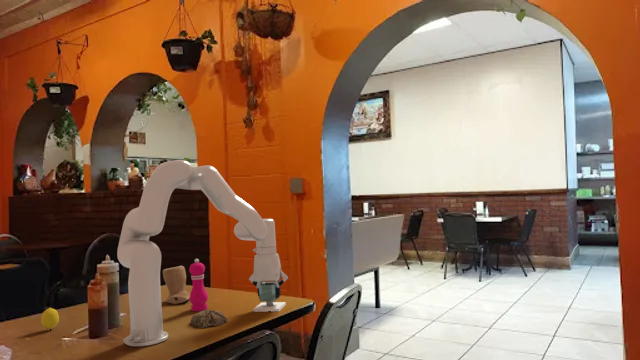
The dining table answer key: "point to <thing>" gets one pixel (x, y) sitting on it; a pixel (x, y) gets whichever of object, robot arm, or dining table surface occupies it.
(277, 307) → the shaft base
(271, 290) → the collar
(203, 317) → the bread roll
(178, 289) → the beige hollow piece
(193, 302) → the pepper mill
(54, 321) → the lemon
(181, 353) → the dining table surface
